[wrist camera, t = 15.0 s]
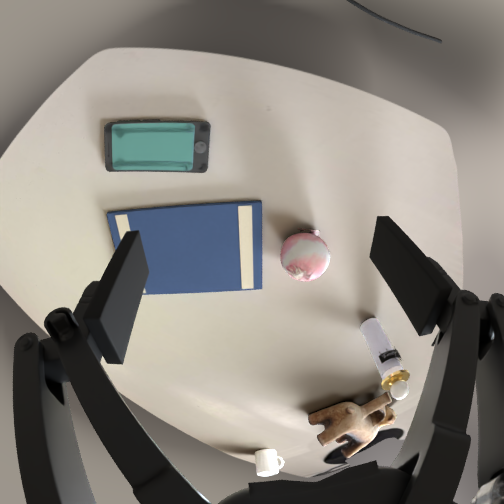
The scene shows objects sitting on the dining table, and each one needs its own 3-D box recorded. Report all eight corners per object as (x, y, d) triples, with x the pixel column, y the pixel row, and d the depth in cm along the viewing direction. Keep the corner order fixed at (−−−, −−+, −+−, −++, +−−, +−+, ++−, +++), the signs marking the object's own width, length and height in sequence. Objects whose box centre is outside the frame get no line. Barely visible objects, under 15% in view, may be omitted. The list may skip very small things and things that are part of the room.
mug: (287, 448, 96) (291, 469, 87) (263, 456, 99) (266, 477, 91) (275, 444, 92) (278, 467, 84) (250, 452, 96) (252, 474, 87)
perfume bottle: (378, 329, 62) (412, 400, 45) (355, 334, 62) (385, 409, 45) (382, 310, 59) (421, 384, 42) (357, 316, 59) (392, 394, 42)
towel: (261, 200, 44) (262, 202, 43) (261, 286, 52) (262, 289, 52) (107, 211, 43) (106, 214, 42) (129, 292, 51) (128, 295, 50)
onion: (268, 240, 48) (274, 266, 42) (309, 214, 46) (321, 236, 40) (293, 272, 51) (302, 299, 45) (331, 249, 49) (345, 273, 43)
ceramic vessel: (349, 465, 80) (411, 429, 77) (311, 444, 68) (391, 398, 65) (339, 439, 92) (397, 404, 88) (300, 411, 80) (372, 367, 77)
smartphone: (206, 173, 40) (105, 172, 38) (207, 171, 41) (108, 169, 39) (210, 121, 36) (103, 122, 34) (210, 120, 37) (107, 121, 35)
